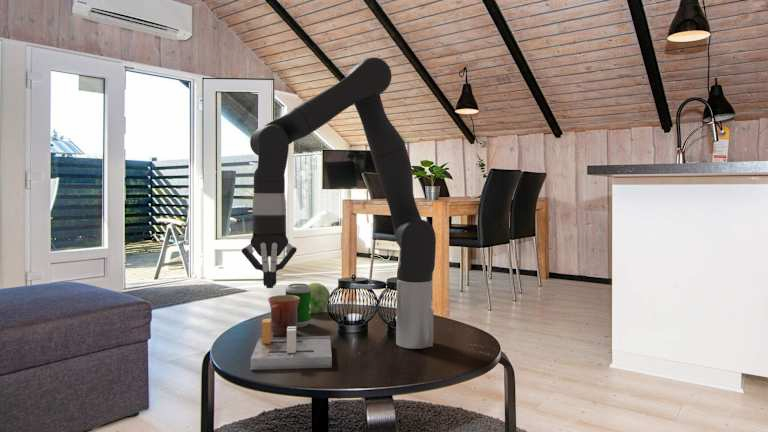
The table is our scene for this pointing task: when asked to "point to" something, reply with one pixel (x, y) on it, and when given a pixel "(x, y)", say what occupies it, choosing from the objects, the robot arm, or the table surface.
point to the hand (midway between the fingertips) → (269, 287)
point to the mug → (283, 313)
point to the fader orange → (266, 331)
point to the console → (307, 353)
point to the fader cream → (291, 339)
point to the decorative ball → (318, 297)
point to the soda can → (301, 302)
